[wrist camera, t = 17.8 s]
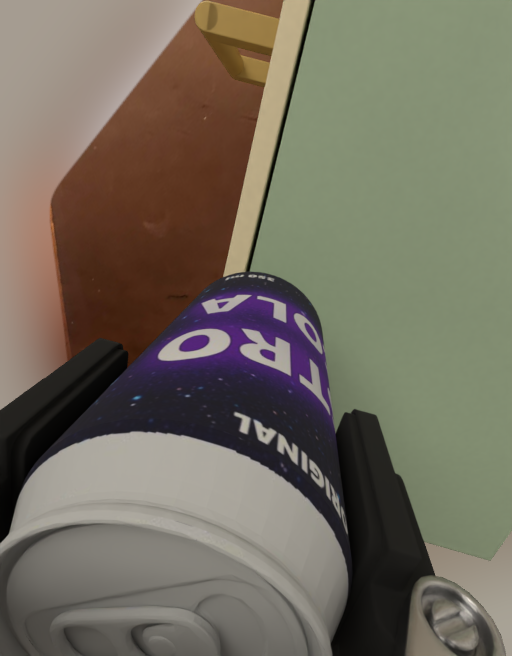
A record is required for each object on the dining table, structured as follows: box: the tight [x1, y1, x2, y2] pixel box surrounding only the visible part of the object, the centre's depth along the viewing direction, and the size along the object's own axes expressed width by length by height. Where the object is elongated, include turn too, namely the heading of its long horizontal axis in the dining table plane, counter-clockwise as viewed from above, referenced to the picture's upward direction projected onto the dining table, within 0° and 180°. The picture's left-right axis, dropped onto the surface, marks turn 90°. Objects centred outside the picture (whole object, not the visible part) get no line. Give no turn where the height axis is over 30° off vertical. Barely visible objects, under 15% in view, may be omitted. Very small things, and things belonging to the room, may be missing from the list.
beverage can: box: [0, 272, 353, 656], centre depth 11 cm, size 6×6×12 cm
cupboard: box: [250, 0, 512, 560], centre depth 29 cm, size 18×26×24 cm
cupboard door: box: [195, 0, 315, 277], centre depth 29 cm, size 7×26×24 cm, turn 166°
